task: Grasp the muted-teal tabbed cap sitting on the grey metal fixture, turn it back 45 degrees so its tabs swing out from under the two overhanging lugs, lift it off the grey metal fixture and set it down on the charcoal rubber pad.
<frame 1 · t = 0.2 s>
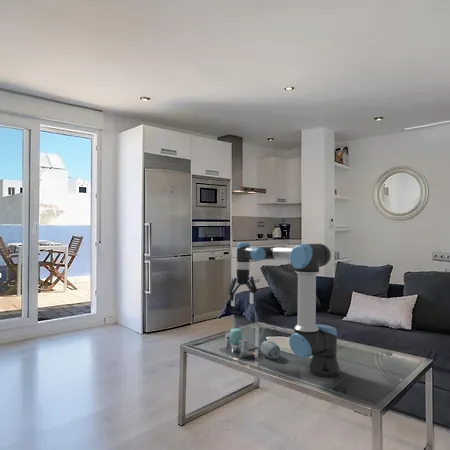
hand: (242, 304, 223), 27 cm above the table, fingers open, 13 cm apart
grey green ovoid: (270, 357, 213), on the table
cap: (236, 342, 219), point 6 cm above the table, touching grey metal fixture
pad: (249, 347, 228), on the table
grey metal fixture: (236, 352, 219), on the table
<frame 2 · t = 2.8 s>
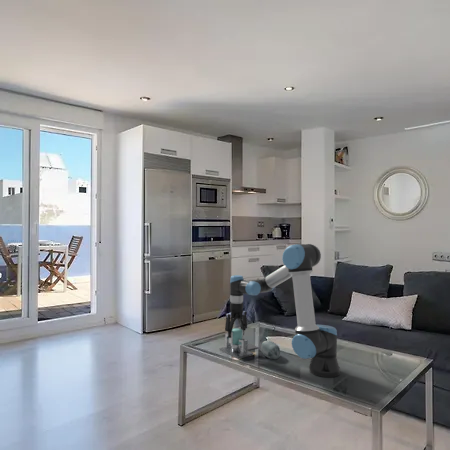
hand: (236, 342, 219), 6 cm above the table, fingers closed on cap, 7 cm apart
cap: (236, 342, 219), point 6 cm above the table, touching gripper, grey metal fixture
everything else where it was.
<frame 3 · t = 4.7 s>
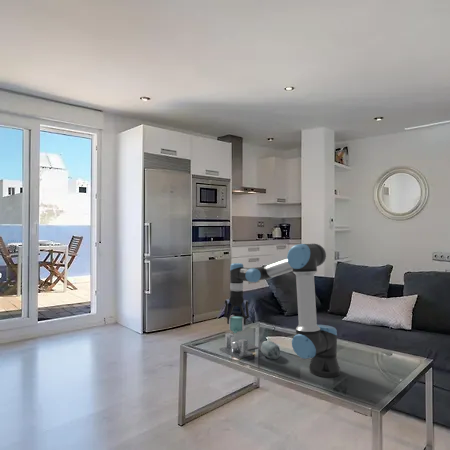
hand: (236, 329, 219), 13 cm above the table, fingers closed on cap, 7 cm apart
cap: (236, 329, 219), point 13 cm above the table, touching gripper
everything else where it was.
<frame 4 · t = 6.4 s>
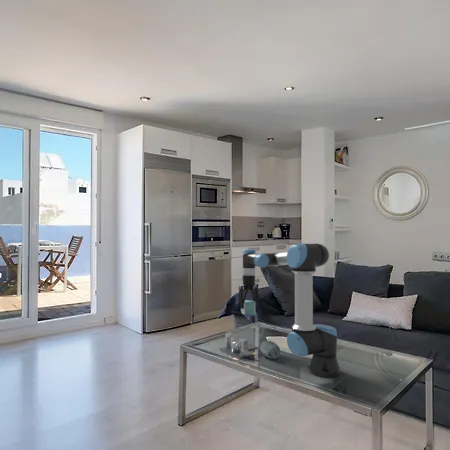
hand: (248, 312, 228), 21 cm above the table, fingers closed on cap, 7 cm apart
cap: (248, 313, 228), point 21 cm above the table, touching gripper
everything else where it was.
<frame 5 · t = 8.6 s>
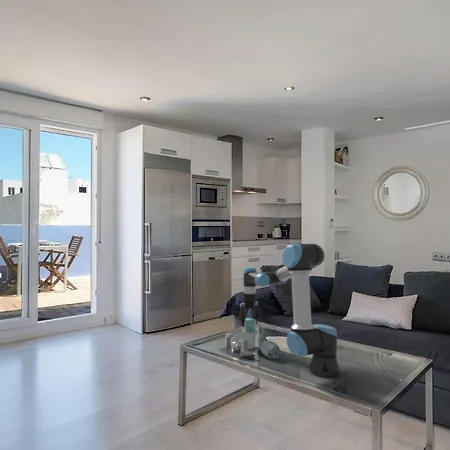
hand: (249, 331, 228), 10 cm above the table, fingers closed on cap, 7 cm apart
cap: (248, 331, 228), point 10 cm above the table, touching gripper
everything else where it was.
when the fingers open (2 cm above the table, at t = 10.5 s): cap drops 1 cm, resting on pad.
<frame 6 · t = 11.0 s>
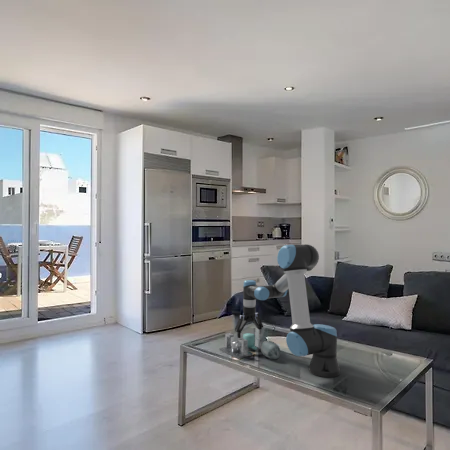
hand: (249, 341, 228), 4 cm above the table, fingers open, 13 cm apart
cap: (248, 346, 228), point 1 cm above the table, touching pad
everything else where it was.
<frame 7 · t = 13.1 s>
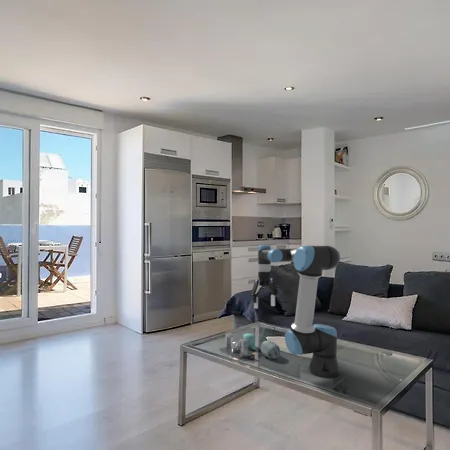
hand: (264, 307, 224), 25 cm above the table, fingers open, 13 cm apart
nothing on the table moved.
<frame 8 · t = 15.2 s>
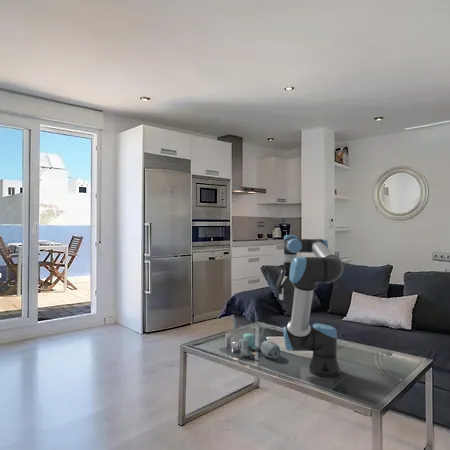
hand: (289, 298, 219), 32 cm above the table, fingers open, 13 cm apart
nothing on the table moved.
at the end: cap inside the target area on the pad (0.0 cm from its centre), point 0.6 cm above the pad's base; cap tilted 0°; the gripper is holding nothing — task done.
